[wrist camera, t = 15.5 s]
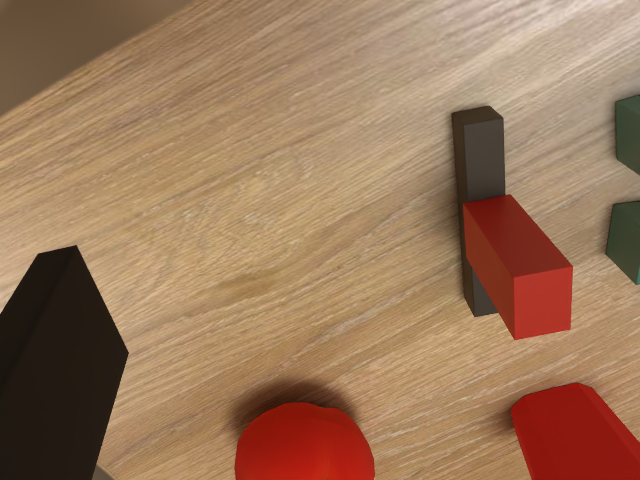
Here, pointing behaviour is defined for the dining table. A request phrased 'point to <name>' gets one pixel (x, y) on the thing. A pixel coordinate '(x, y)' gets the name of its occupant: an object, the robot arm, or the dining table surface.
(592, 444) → the french fries
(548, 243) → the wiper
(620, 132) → the cube
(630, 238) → the cube
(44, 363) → the robot arm
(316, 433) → the tomato
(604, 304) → the dining table surface
